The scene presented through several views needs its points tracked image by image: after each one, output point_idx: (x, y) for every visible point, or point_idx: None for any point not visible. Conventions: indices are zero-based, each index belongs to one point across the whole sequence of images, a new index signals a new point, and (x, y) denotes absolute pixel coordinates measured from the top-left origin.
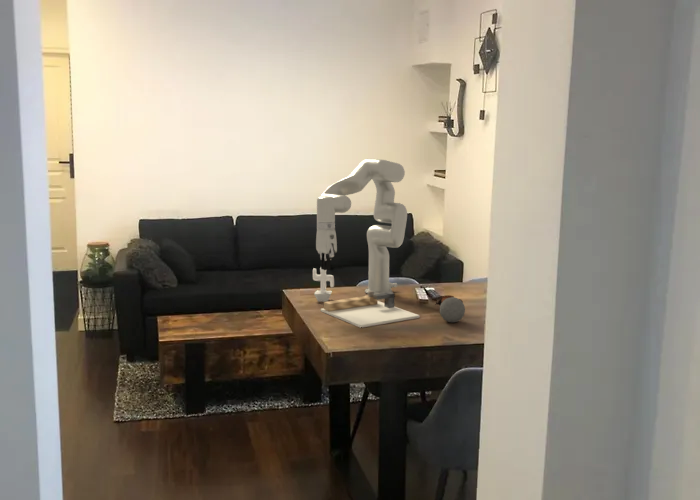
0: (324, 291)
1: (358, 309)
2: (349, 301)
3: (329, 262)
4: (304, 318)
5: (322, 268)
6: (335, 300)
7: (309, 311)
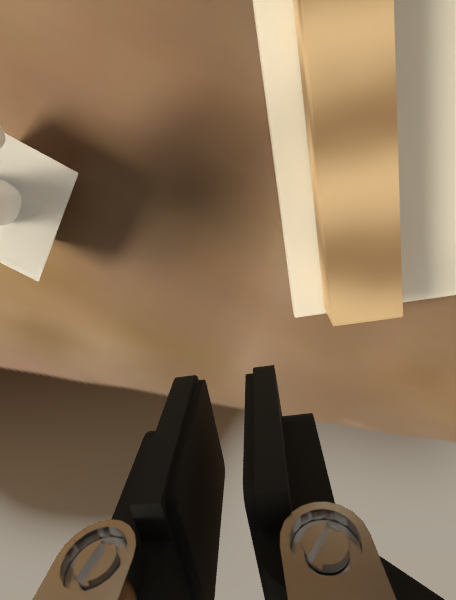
0: (15, 200)
1: (433, 77)
2: (395, 131)
3: (328, 487)
4: (395, 433)
5: (223, 468)
6: (328, 234)
7: None
